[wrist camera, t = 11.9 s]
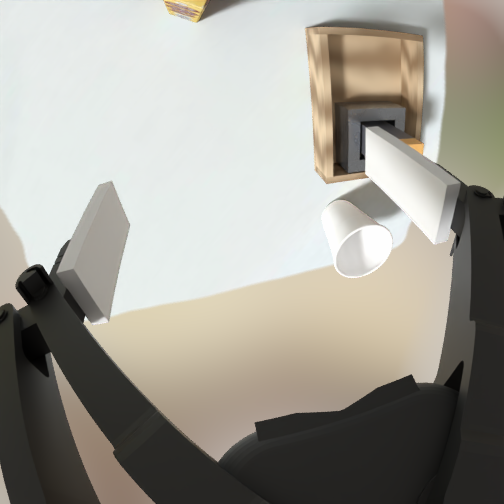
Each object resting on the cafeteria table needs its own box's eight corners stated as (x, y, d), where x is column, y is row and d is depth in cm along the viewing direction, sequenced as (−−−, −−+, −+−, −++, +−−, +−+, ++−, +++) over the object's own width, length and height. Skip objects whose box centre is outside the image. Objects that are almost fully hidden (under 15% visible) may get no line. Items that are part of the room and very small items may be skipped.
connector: (351, 118, 41) (395, 145, 32) (376, 116, 42) (423, 143, 32) (351, 145, 44) (392, 179, 35) (375, 143, 44) (420, 175, 35)
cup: (341, 177, 48) (373, 212, 40) (371, 210, 54) (402, 247, 45) (298, 218, 52) (321, 259, 43) (332, 246, 57) (356, 287, 49)
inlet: (334, 102, 40) (348, 109, 36) (389, 100, 40) (405, 107, 37) (335, 161, 46) (348, 172, 42) (386, 155, 46) (401, 166, 43)
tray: (305, 28, 33) (318, 26, 29) (403, 33, 34) (422, 35, 30) (314, 169, 47) (326, 183, 43) (400, 159, 48) (416, 171, 44)
